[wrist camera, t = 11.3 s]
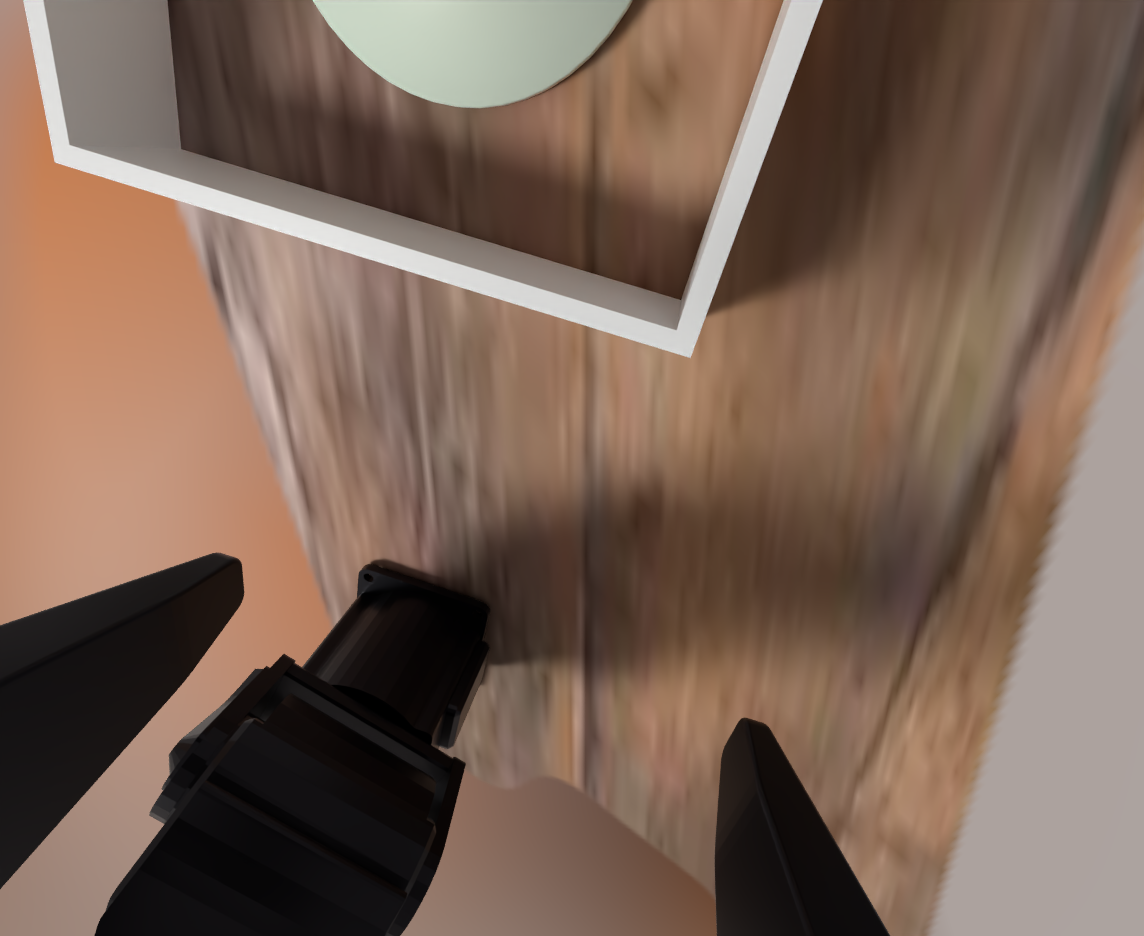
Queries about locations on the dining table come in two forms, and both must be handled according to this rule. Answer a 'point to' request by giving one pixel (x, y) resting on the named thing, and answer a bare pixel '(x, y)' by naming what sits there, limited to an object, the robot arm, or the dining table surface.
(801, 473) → the dining table surface
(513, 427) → the dining table surface
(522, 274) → the walled pen
